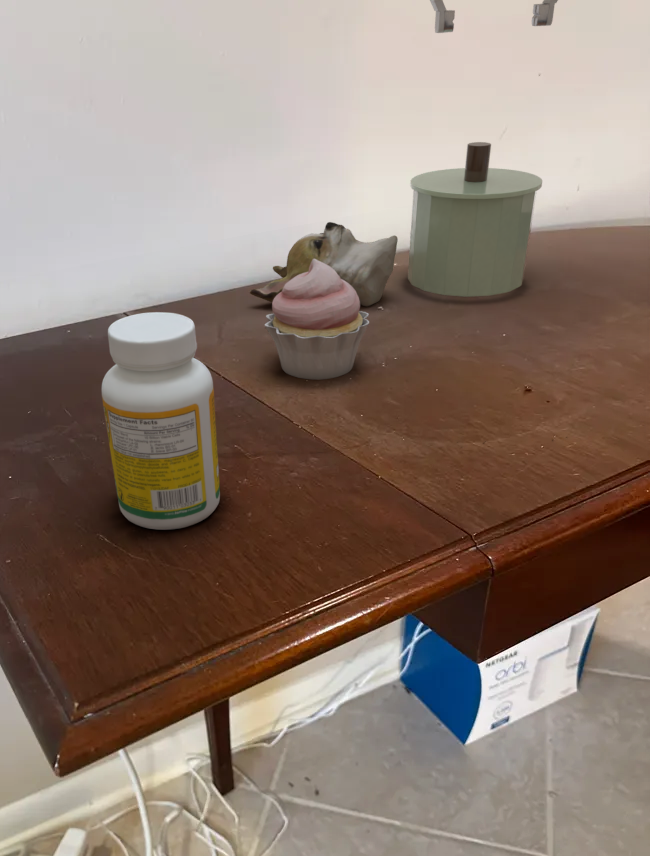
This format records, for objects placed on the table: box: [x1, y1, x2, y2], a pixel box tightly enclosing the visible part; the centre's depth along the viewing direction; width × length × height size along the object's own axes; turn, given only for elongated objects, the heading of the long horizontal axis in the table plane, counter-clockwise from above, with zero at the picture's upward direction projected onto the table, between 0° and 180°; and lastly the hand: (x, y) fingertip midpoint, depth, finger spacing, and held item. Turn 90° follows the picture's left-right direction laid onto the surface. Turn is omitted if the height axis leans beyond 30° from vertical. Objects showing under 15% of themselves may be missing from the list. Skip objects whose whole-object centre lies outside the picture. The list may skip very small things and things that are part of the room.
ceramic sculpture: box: [248, 221, 398, 307], centre depth 87 cm, size 11×9×15 cm
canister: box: [407, 190, 538, 298], centre depth 90 cm, size 13×13×10 cm
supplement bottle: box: [100, 311, 221, 531], centre depth 52 cm, size 7×7×13 cm
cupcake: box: [264, 259, 370, 381], centre depth 71 cm, size 9×9×10 cm
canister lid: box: [409, 141, 543, 199], centre depth 86 cm, size 14×14×5 cm
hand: (492, 29), depth 79 cm, fingers open, 8 cm apart
